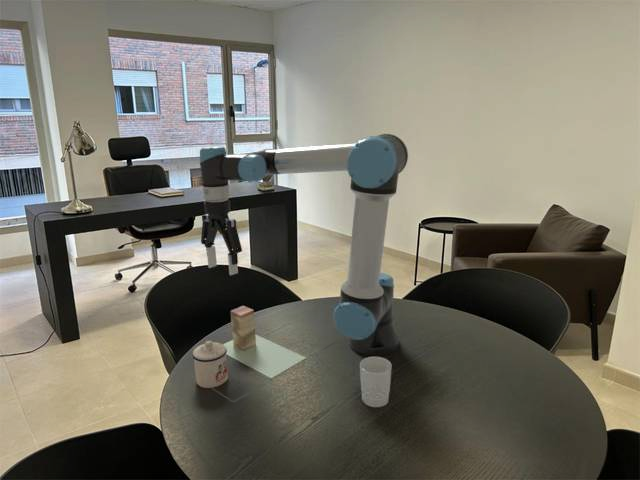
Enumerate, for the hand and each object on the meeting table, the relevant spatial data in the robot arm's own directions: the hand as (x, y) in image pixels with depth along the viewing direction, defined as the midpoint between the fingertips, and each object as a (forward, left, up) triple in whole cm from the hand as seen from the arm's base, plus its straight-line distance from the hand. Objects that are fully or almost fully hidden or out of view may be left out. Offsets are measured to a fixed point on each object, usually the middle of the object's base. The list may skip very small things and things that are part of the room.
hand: (223, 270), depth 143 cm
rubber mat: (-15, 0, -24) cm, 28 cm away
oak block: (-8, 0, -23) cm, 25 cm away
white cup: (-55, -4, -24) cm, 60 cm away
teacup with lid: (-15, +16, -24) cm, 32 cm away
